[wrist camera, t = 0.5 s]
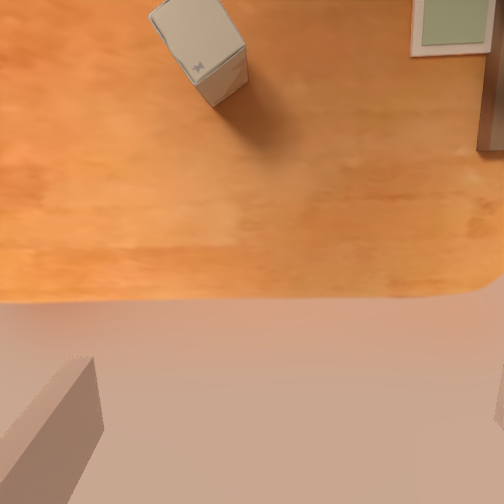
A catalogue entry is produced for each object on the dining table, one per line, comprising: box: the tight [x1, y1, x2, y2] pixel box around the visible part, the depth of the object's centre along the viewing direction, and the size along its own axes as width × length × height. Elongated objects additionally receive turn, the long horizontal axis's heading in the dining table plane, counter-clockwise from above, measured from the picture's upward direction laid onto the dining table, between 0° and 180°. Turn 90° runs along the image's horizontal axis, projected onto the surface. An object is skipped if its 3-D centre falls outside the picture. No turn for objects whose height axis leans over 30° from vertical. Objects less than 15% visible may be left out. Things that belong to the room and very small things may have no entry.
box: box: [149, 0, 248, 107], centre depth 29 cm, size 5×4×11 cm
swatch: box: [410, 0, 496, 57], centre depth 33 cm, size 7×7×1 cm
